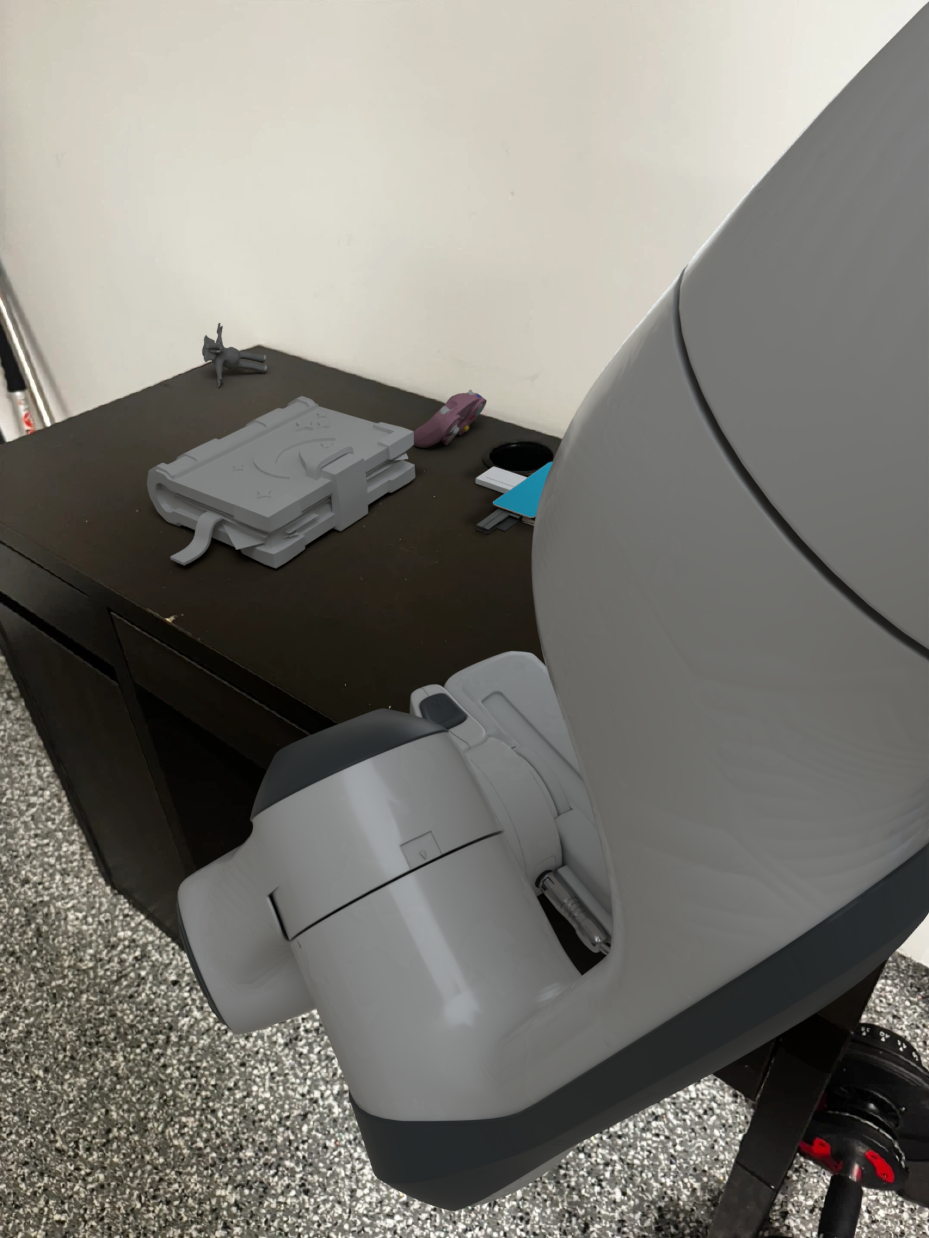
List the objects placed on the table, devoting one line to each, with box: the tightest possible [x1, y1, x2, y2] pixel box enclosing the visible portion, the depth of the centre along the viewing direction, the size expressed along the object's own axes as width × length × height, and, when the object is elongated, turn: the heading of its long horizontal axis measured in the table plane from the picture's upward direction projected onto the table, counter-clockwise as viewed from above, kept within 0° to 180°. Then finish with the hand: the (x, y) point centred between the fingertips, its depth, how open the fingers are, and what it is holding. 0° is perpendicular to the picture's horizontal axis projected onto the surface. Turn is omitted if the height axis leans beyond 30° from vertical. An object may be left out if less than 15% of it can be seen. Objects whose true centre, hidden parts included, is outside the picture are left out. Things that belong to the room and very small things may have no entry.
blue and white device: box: [475, 461, 553, 535], centre depth 98 cm, size 20×12×2 cm, turn 144°
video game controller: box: [413, 388, 487, 449], centre depth 108 cm, size 10×5×7 cm, turn 149°
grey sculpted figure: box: [201, 322, 268, 389], centre depth 125 cm, size 10×6×9 cm
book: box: [146, 395, 416, 569], centre depth 93 cm, size 19×28×8 cm
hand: (683, 730), depth 53 cm, fingers open, 8 cm apart
